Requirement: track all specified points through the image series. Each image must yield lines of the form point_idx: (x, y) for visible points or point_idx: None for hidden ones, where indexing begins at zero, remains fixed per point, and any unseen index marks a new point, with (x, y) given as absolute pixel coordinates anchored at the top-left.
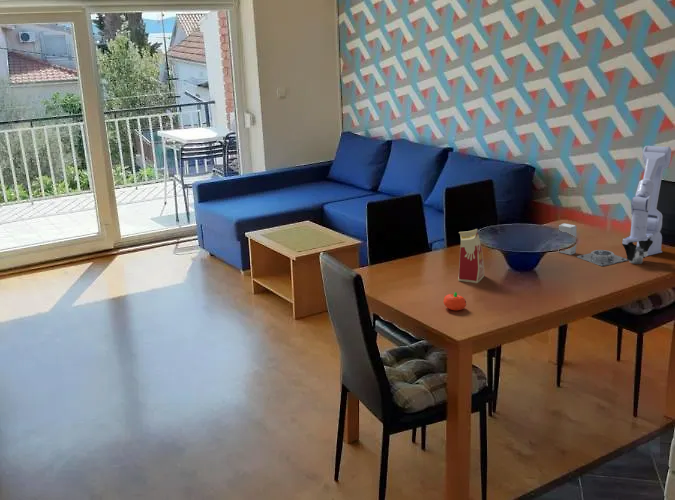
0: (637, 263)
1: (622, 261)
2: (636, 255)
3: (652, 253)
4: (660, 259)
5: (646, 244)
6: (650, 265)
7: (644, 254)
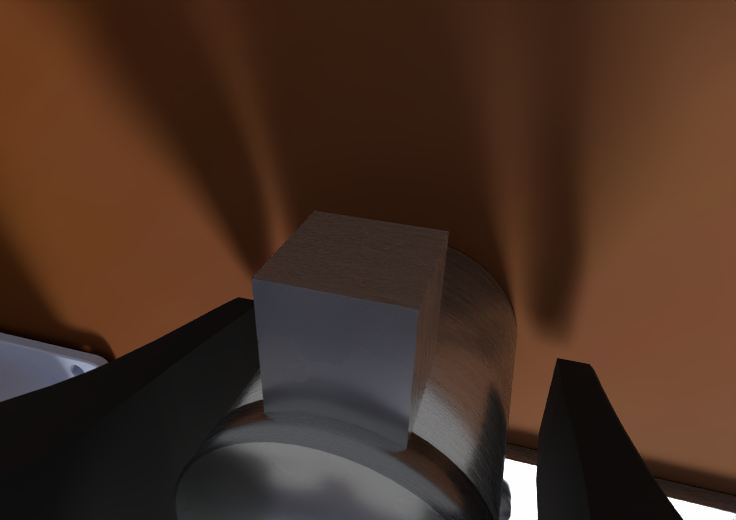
0: (478, 267)
1: None
2: (480, 393)
3: (4, 345)
4: (18, 167)
5: (43, 508)
6: (356, 61)
7: (404, 259)
